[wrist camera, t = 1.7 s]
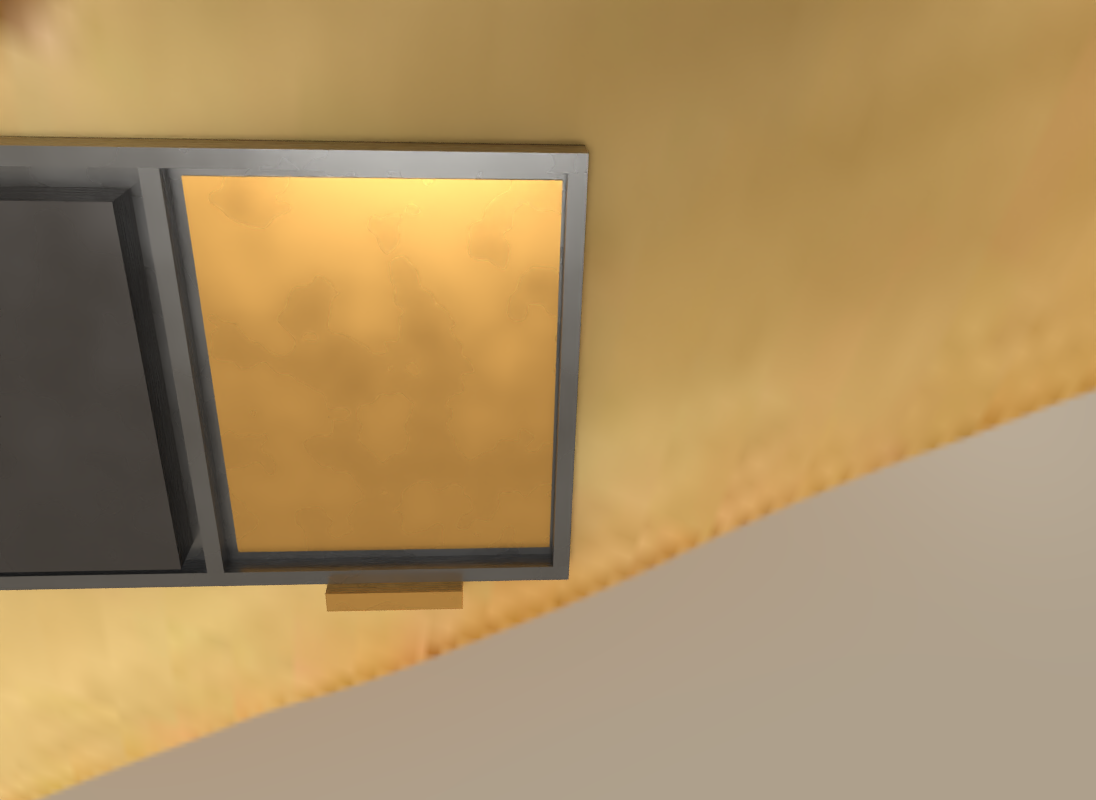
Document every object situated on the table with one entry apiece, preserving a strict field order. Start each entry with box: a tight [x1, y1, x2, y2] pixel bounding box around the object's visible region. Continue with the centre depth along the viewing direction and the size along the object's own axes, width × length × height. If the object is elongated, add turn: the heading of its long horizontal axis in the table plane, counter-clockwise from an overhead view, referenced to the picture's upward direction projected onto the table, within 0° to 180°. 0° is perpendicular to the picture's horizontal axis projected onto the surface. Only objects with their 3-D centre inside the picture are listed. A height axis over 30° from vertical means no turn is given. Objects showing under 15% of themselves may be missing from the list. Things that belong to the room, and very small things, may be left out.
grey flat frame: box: [0, 136, 589, 611], centre depth 31 cm, size 17×26×2 cm, turn 88°
